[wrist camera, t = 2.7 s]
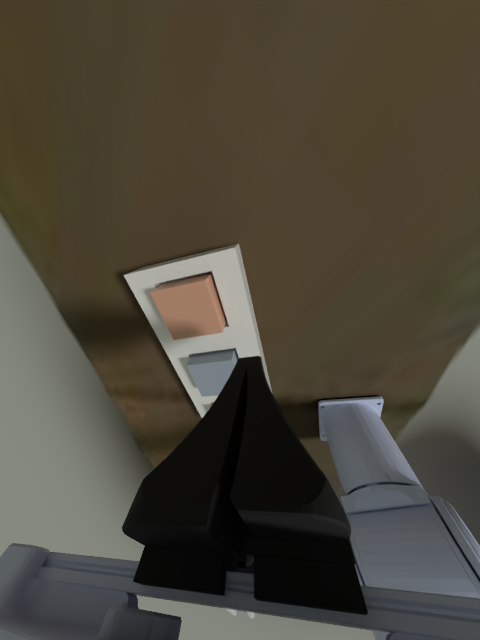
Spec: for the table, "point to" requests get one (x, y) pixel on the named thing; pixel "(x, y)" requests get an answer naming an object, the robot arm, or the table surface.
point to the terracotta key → (190, 307)
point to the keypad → (233, 301)
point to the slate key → (212, 370)
